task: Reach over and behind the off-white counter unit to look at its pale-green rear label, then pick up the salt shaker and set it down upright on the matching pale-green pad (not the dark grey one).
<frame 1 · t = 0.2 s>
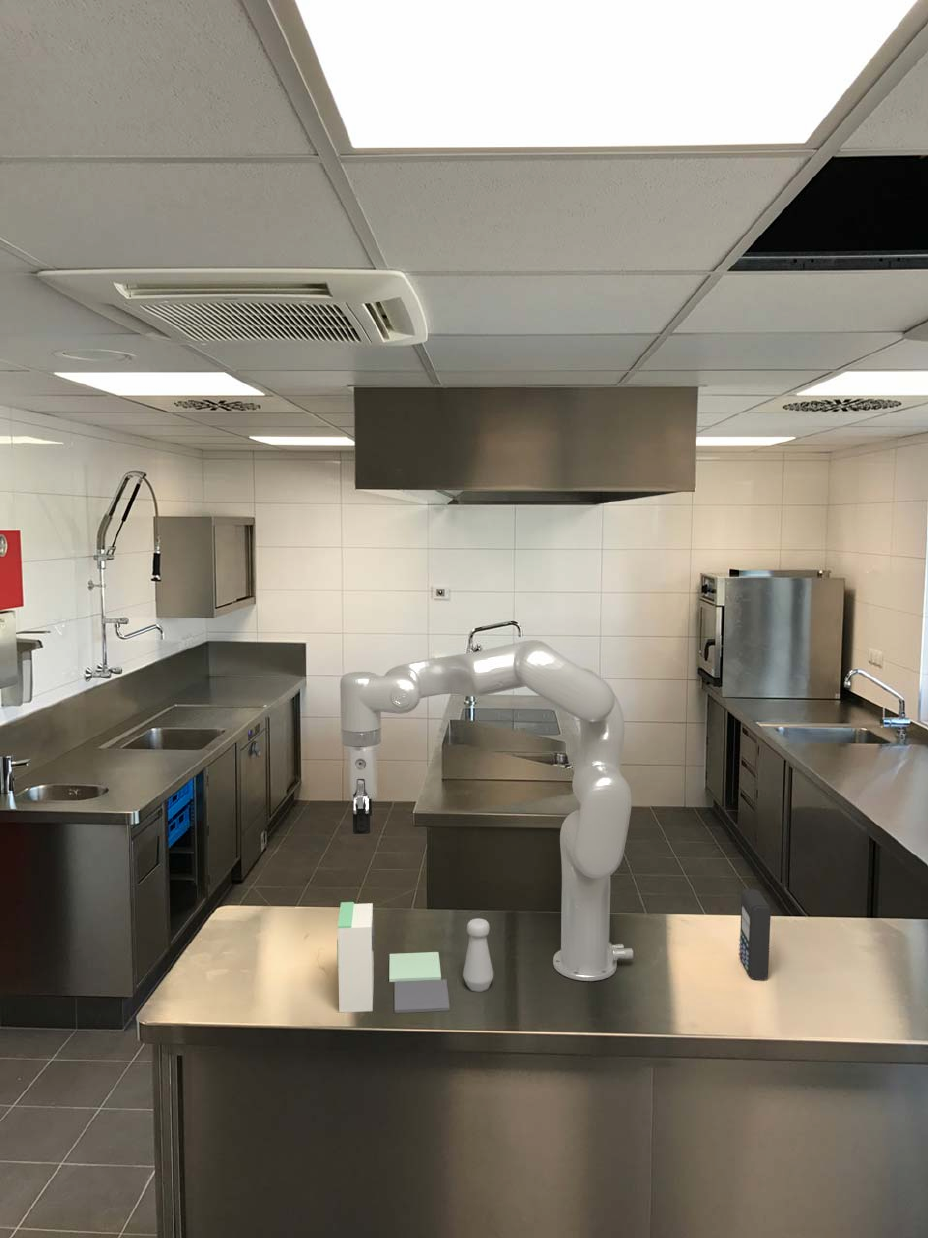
hand: (362, 824, 169), 31 cm above the countertop, fingers open, 9 cm apart
green pad: (414, 968, 176), on the countertop
grey pad: (421, 997, 165), on the countertop
card reader: (752, 970, 175), on the countertop
salt shaker: (478, 987, 169), on the countertop
counter unit: (357, 997, 165), on the countertop
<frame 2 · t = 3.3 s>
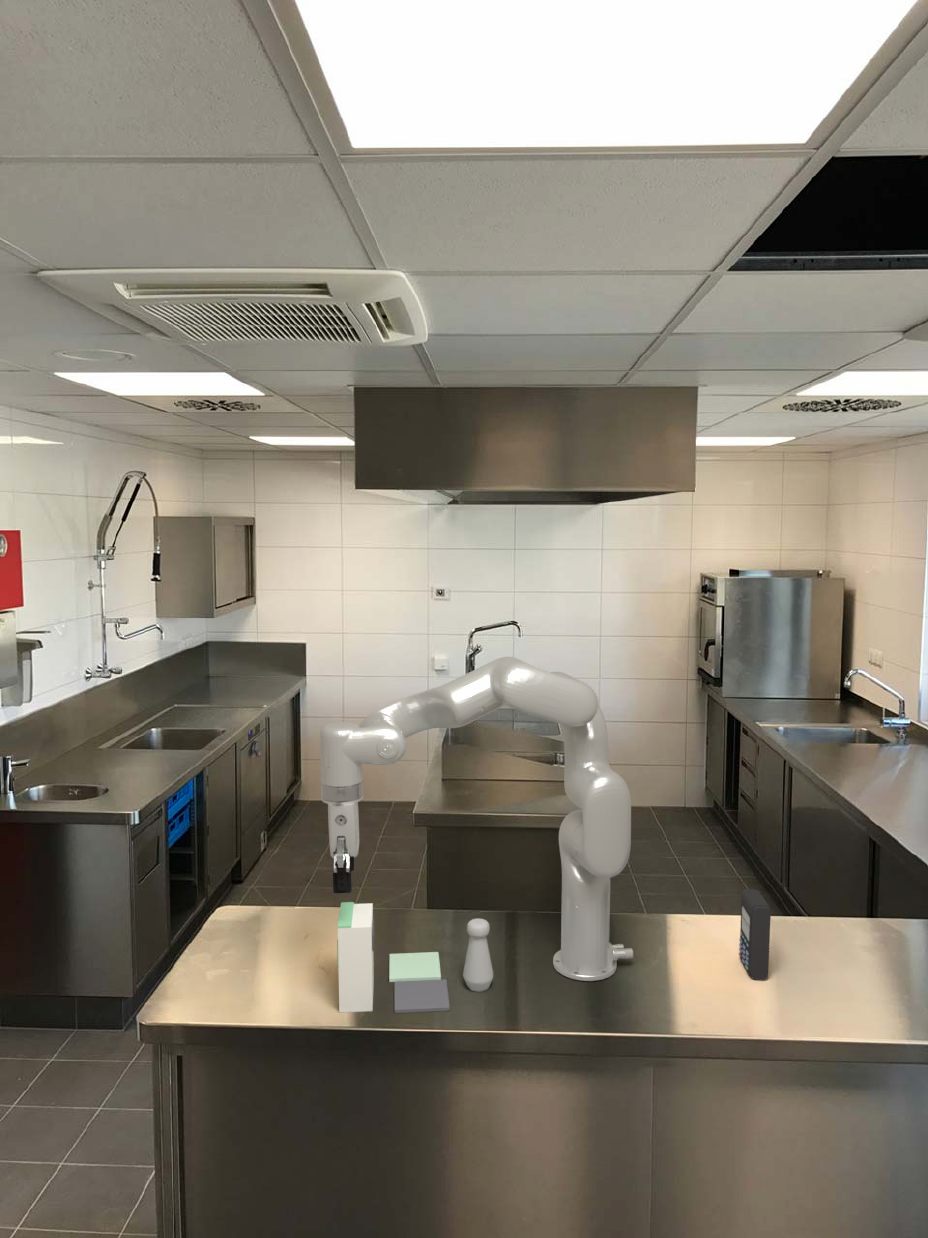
hand: (344, 881, 162), 23 cm above the countertop, fingers open, 9 cm apart
nothing on the countertop moved.
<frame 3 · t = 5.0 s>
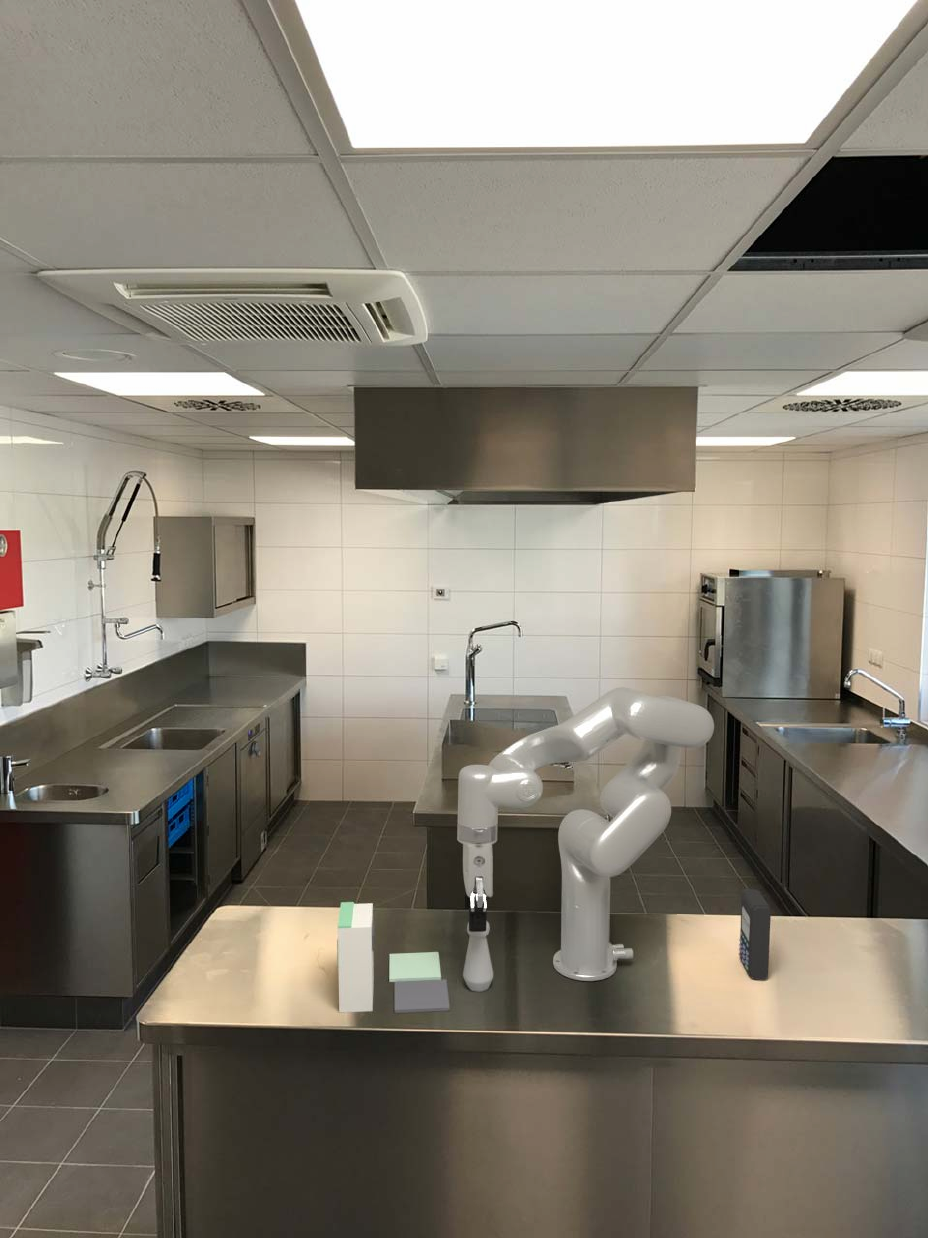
hand: (475, 919, 167), 14 cm above the countertop, fingers open, 9 cm apart
nothing on the countertop moved.
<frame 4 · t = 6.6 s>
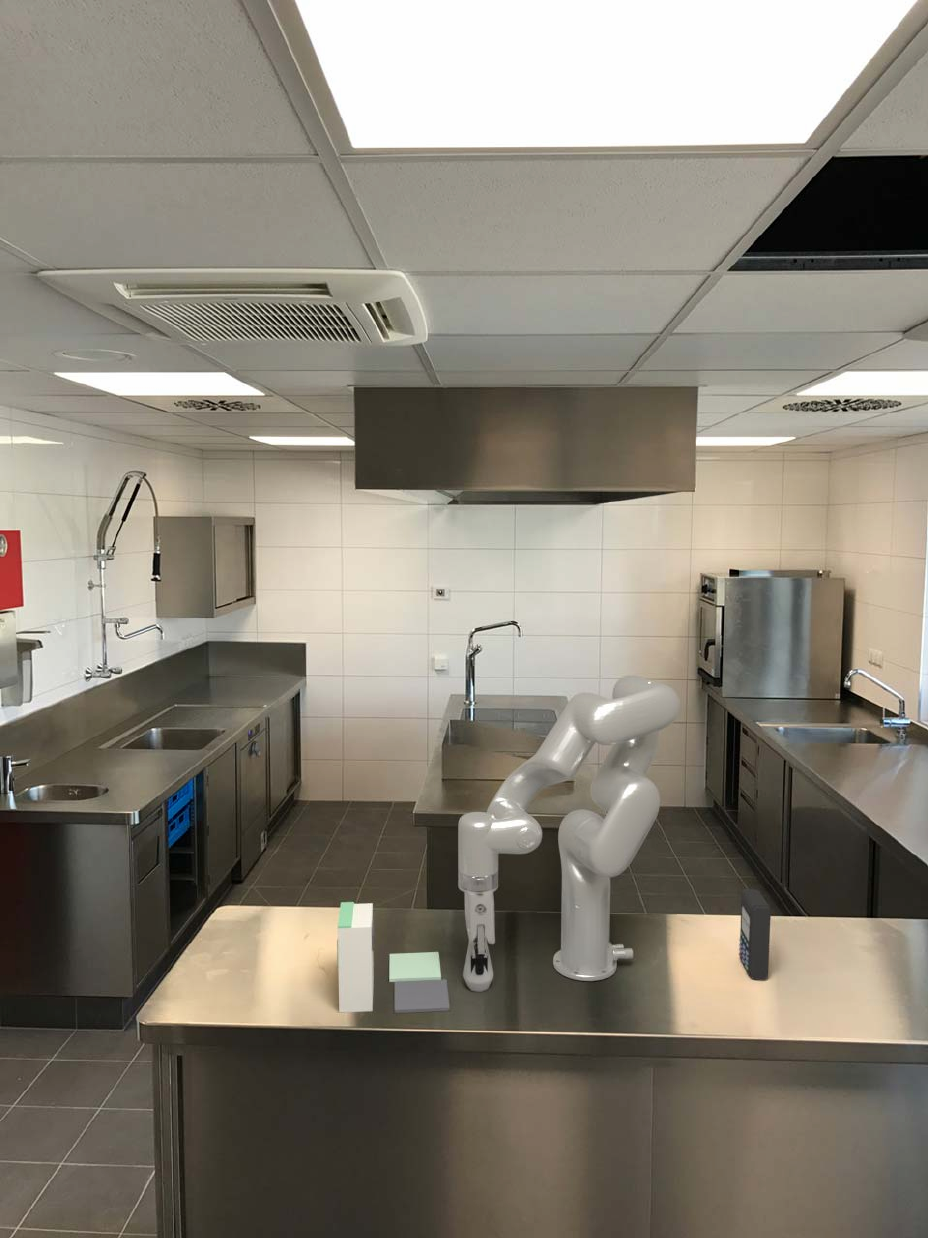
hand: (478, 970, 168), 3 cm above the countertop, fingers closed on salt shaker, 3 cm apart
salt shaker: (478, 987, 169), on the countertop, touching gripper
everything else where it was.
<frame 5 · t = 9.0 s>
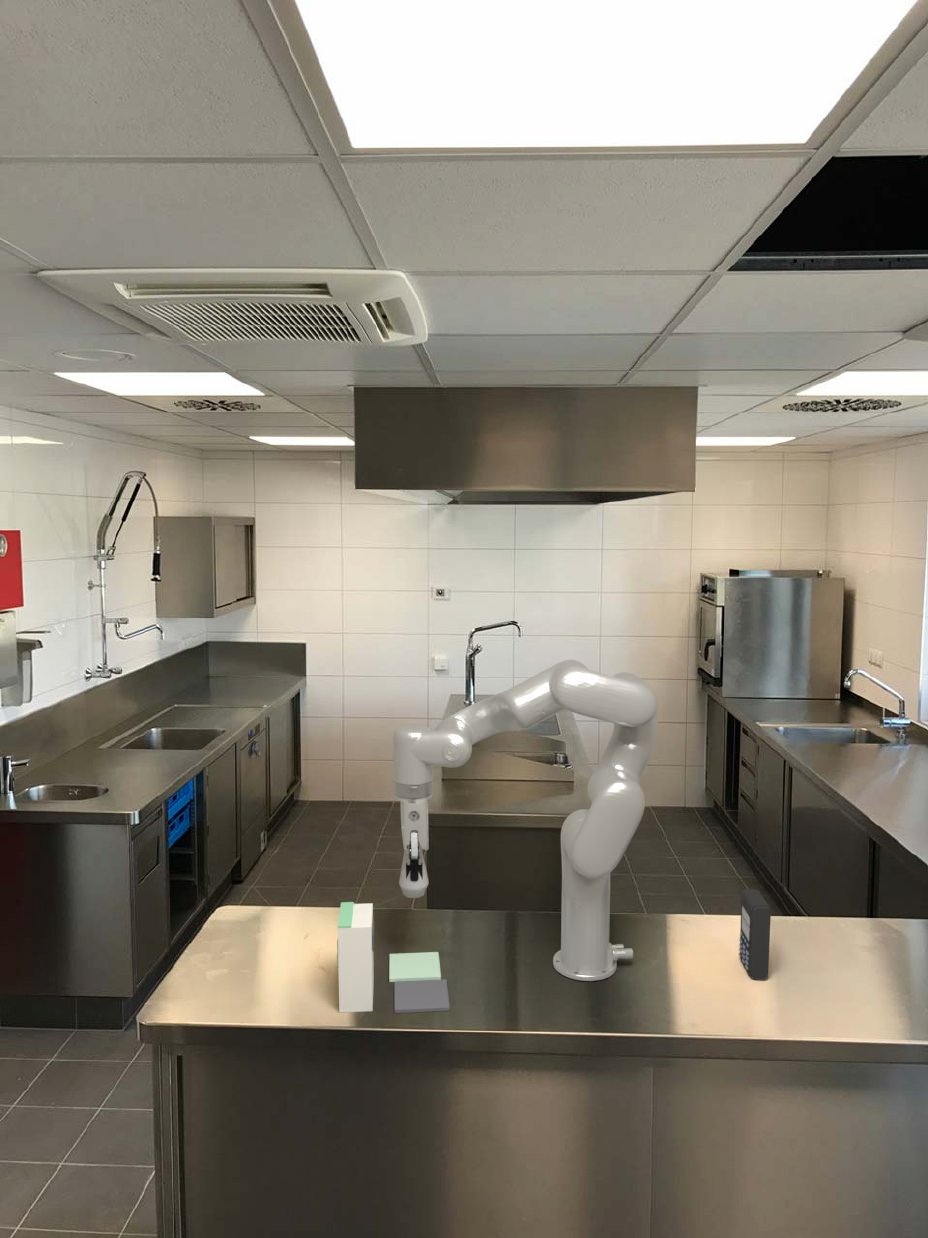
hand: (414, 878, 174), 19 cm above the countertop, fingers closed on salt shaker, 3 cm apart
salt shaker: (414, 895, 174), point 15 cm above the countertop, touching gripper
everything else where it was.
when the fingers open (5 cm above the countertop, at t = 11.6 s): salt shaker drops 1 cm, resting on green pad.
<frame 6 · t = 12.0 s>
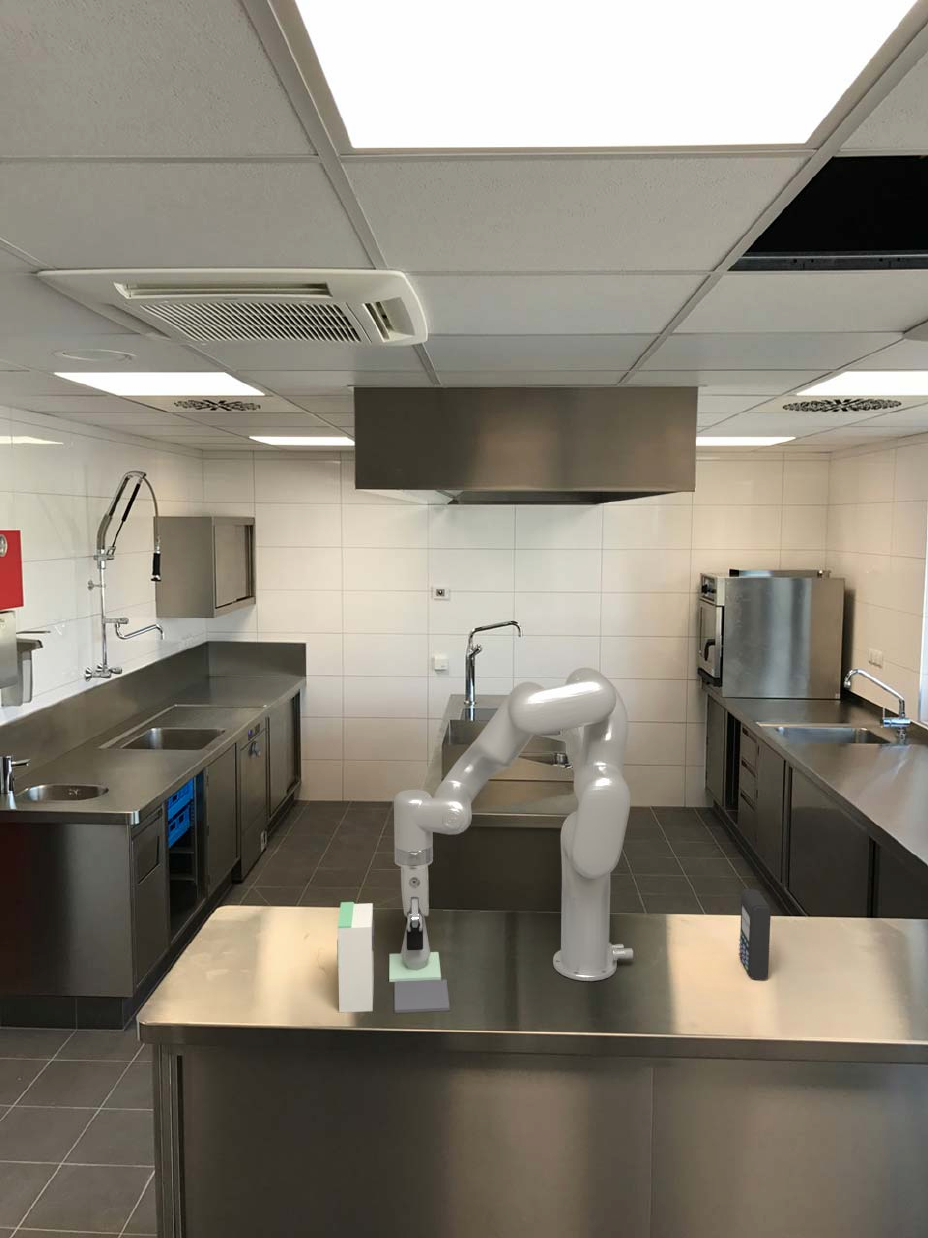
hand: (414, 938, 175), 6 cm above the countertop, fingers open, 7 cm apart
salt shaker: (415, 966, 176), resting on green pad
everything else where it was.
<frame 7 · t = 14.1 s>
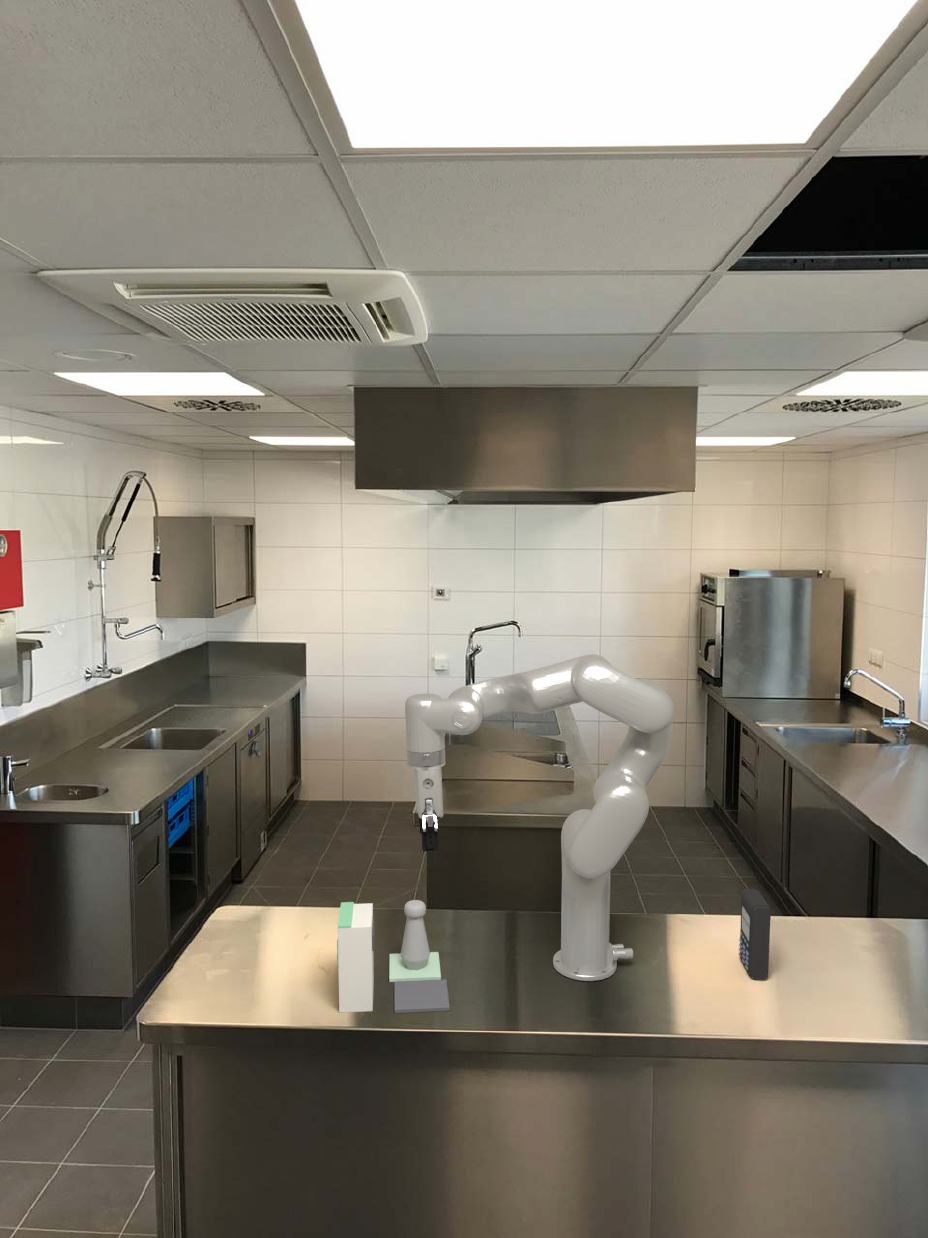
hand: (429, 841, 175), 25 cm above the countertop, fingers open, 9 cm apart
nothing on the countertop moved.
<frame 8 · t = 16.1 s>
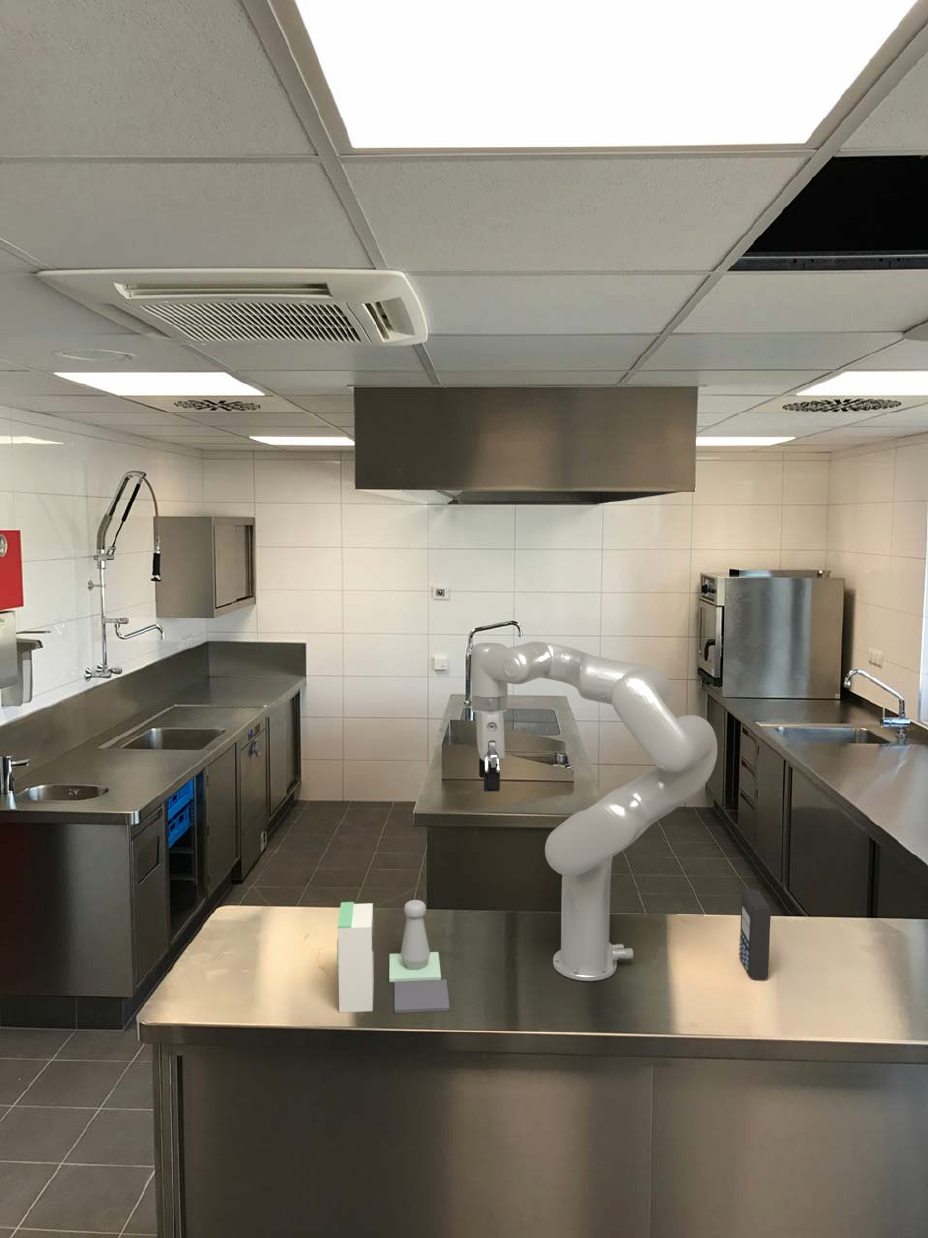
hand: (489, 784, 183), 34 cm above the countertop, fingers open, 9 cm apart
nothing on the countertop moved.
at the end: salt shaker inside the target area on the green pad (0.2 cm from its centre), point 0.4 cm above the green pad's base; salt shaker tilted 0°; the gripper is holding nothing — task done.
